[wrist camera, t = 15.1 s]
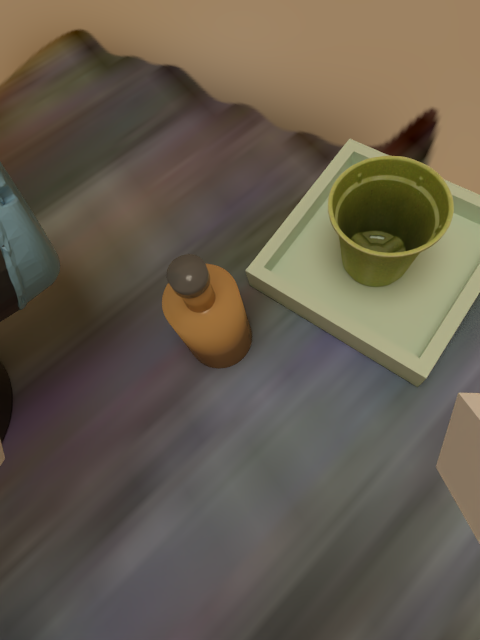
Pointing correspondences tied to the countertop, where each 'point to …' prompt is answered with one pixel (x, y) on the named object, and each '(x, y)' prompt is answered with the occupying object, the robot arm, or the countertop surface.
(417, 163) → the plant pot
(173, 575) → the countertop surface
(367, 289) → the tray
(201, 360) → the reagent bottle
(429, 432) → the countertop surface
